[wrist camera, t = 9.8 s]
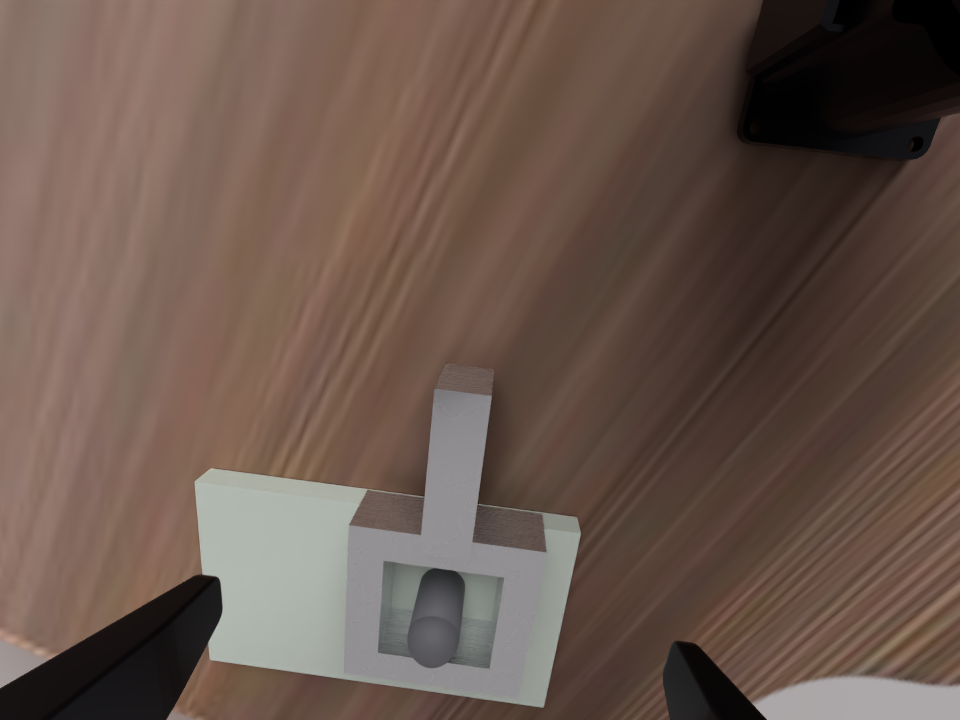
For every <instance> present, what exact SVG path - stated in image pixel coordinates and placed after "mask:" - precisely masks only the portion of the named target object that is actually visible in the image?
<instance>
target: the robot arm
mask: <svg viewBox="0 0 960 720" xmlns="http://www.w3.org/2000/svg"><path fill="white" fill-rule="evenodd" d="M746 71H747V74H748V76H749V78H750V81H749V85H748V89H747V93H746V97H745V101H744V105H743V108H742V112H741V116H740V120H739V124H738V130H737V134H738V137H739V139H740V140H741V141H742V142H744V143H747V144H753V145H762V146H771V147H780V148H789V149H798V150H806V151H815V152H824V153H833V154H842V155H851V156H859V157H868V158H877V159H886V160H895V161H907V160H913V159H917V158H919V157H921V156H923V155H924V154H925V153H926V152H927V150H928V149H929V147H930V145H931V142H932V139H933V137H934V134H935V131H936V129H937V126H938V123H939V121H940V118H941V117H945V116H949V115H953V114H957V113H960V0H763V3H762V7H761V11H760V15H759V19H758V23H757V27H756V31H755V35H754V39H753V43H752V47H751V51H750V55H749V59H748V63H747V67H746ZM752 121H755V122H757V123H758V125H759V130H758V132H757V134H753V133H752V132H751V131H750V125H751V123H752ZM910 139H912V140H913V142H914V145H913V148H912V150H911V151H909V149H908V143H909V141H910ZM222 611H223V604H222V592H221V582H220V579H219V578H218V577H216V576H210V575H203V574H199V575H196V576H193V577H192V578H190V579H188V580H186V581H185V582H183V583H181V584H179V585H178V586H176V587H174V588H173V589H171V590H169V591H167V592H166V593H164V594H162V595H160V596H159V597H157V598H155V599H154V600H152V601H150V602H148V603H147V604H145V605H143V606H141V607H140V608H138V609H136V610H135V611H133V612H131V613H129V614H128V615H126V616H124V617H123V618H121V619H119V620H117V621H116V622H114V623H112V624H110V625H109V626H107V627H105V628H104V629H102V630H100V631H98V632H97V633H95V634H93V635H91V636H90V637H88V638H86V639H85V640H83V641H81V642H79V643H78V644H76V645H74V646H72V647H71V648H69V649H67V650H66V651H64V652H62V653H60V654H59V655H57V656H55V657H53V658H52V659H50V660H48V661H47V662H45V663H43V664H41V665H40V666H38V667H36V668H35V669H33V670H31V671H29V672H28V673H26V674H24V675H22V676H21V677H19V678H17V679H16V680H14V681H12V682H10V683H9V684H7V685H5V686H3V687H2V688H0V720H166V719H167V717H168V716H169V714H170V713H171V711H172V709H173V708H174V706H175V704H176V702H177V701H178V699H179V697H180V695H181V693H182V692H183V690H184V688H185V686H186V684H187V682H188V680H189V678H190V676H191V674H192V673H193V671H194V669H195V667H196V665H197V663H198V661H199V659H200V657H201V655H202V654H203V652H204V650H205V648H206V646H207V644H208V642H209V640H210V638H211V636H212V635H213V633H214V631H215V629H216V627H217V625H218V623H219V621H220V618H221V615H222ZM663 685H664V691H665V696H666V701H667V706H668V711H669V717H670V720H767V719H766V718H765V717H764V716H763V715H762V714H761V713H760V712H759V711H758V710H757V709H756V707H755V706H754V705H753V704H752V703H751V702H750V701H749V700H748V699H747V698H746V697H745V696H744V694H743V693H742V692H741V691H740V690H739V689H738V688H737V687H736V686H735V685H734V684H733V683H732V681H731V680H730V679H729V678H728V677H727V676H726V675H725V674H724V673H723V672H722V671H721V670H720V668H719V667H718V666H717V665H716V664H715V663H714V662H713V661H712V660H711V659H710V658H709V657H708V656H707V654H706V653H705V652H704V651H703V650H702V649H701V648H700V647H699V646H698V645H696V644H695V643H691V642H684V641H674V642H673V643H672V645H671V648H670V651H669V654H668V657H667V661H666V664H665V667H664V671H663Z"/></svg>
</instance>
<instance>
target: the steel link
mask: <svg viewBox="0 0 960 720" xmlns="http://www.w3.org/2000/svg"><path fill="white" fill-rule="evenodd" d="M493 378H494V369H487V368H480V367H472V366H464V365H457V364H449V363H446V364H445V366H444V369H443V371H442V373H441V375H440V378H439V380H438V382H437V384H436V387H435V390H434V400H433V411H432V422H431V433H430V444H429V454H428V465H427V476H426V487H425V498H423V497H416V496H408V495H401V494H394V493H386V492H379V491H372V490H367V491H366V493H365V495H364V497H363V499H362V501H361V503H360V505H359V507H358V508H357V510H356V512H355V514H354V516H353V518H352V520H351V522H350V524H349V531H348V559H347V587H346V616H345V644H344V672H343V673H346V674H353V675H360V676H367V677H373V678H380V679H387V680H394V681H401V682H408V683H415V684H421V685H428V686H435V687H442V688H449V689H456V690H463V691H469V692H476V693H483V694H490V695H497V696H504V697H511V698H517V699H518V698H519V693H520V688H521V683H522V678H523V673H524V667H525V662H526V657H527V652H528V647H529V642H530V637H531V631H532V626H533V621H534V616H535V611H536V606H537V601H538V595H539V590H540V585H541V580H542V575H543V570H544V565H545V559H546V554H547V550H546V541H545V533H544V525H543V516H542V514H540V513H533V512H526V511H518V510H511V509H504V508H496V507H489V506H482V505H477V503H478V496H479V488H480V481H481V473H482V466H483V458H484V451H485V443H486V436H487V428H488V421H489V413H490V406H491V398H492V388H493ZM395 562H396V563H403V564H410V565H417V566H424V567H431V568H439V569H446V570H453V571H460V572H467V573H474V574H481V575H489V576H496V577H498V583H497V589H496V595H495V602H494V608H493V614H492V620H491V621H487V620H480V619H473V618H466V617H462V621H461V630H460V638H459V644H458V648H457V650H456V652H455V654H454V656H453V657H452V658H451V660H450V661H448V662H447V663H446V664H445V665H443V666H441V667H437V668H426V667H424V666H422V665H420V664H418V663H417V662H416V661H415V660H414V659H413V657H412V655H411V653H410V651H409V648H408V642H407V636H408V630H409V626H410V622H411V618H412V614H413V610H410V609H403V608H396V607H392V595H393V581H394V567H395Z"/></svg>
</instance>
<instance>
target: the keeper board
mask: <svg viewBox="0 0 960 720" xmlns="http://www.w3.org/2000/svg"><path fill="white" fill-rule="evenodd" d="M367 490H370V489H363V488H355V487H348V486H340V485H333V484H325V483H318V482H310V481H303V480H295V479H288V478H280V477H273V476H265V475H258V474H250V473H243V472H235V471H228V470H220V469H213V468H211V469H209V470H208V471H207V472H206V473H204V474H203V475H202V476H201V477H200V478H198V479H197V480H196V481H195V493H196V505H197V516H198V528H199V539H200V551H201V563H202V574H203V575H210V576H216V577H218V578H219V579H220V582H221V592H222V604H223V611H222V615H221V618H220V621H219V623H218V625H217V627H216V629H215V631H214V633H213V635H212V636H211V638H210V640H209V642H208V644H209V655H210V660H215V661H222V662H228V663H235V664H242V665H249V666H256V667H263V668H270V669H277V670H284V671H291V672H298V673H305V674H312V675H319V676H326V677H333V678H340V679H347V680H354V681H361V682H368V683H375V684H382V685H389V686H396V687H403V688H410V689H417V690H424V691H431V692H438V693H444V694H451V695H458V696H465V697H472V698H479V699H486V700H493V701H500V702H507V703H514V704H521V705H528V706H535V707H542V708H544V704H545V699H546V694H547V690H548V685H549V680H550V676H551V671H552V666H553V662H554V657H555V652H556V648H557V643H558V638H559V634H560V629H561V624H562V620H563V615H564V610H565V606H566V601H567V596H568V592H569V587H570V582H571V578H572V573H573V568H574V564H575V559H576V554H577V550H578V545H579V540H580V536H581V532H580V527H579V523H578V519H577V517H573V516H565V515H558V514H550V513H543V512H535V511H528V510H520V509H513V508H505V507H498V506H490V505H483V504H477V505H482V506H489V507H496V508H504V509H511V510H518V511H526V512H533V513H540V514H542V516H543V525H544V533H545V541H546V550H547V554H546V559H545V565H544V570H543V575H542V580H541V585H540V590H539V595H538V601H537V606H536V611H535V616H534V621H533V626H532V631H531V637H530V642H529V647H528V652H527V657H526V662H525V667H524V673H523V678H522V683H521V688H520V693H519V698H518V699H517V698H511V697H504V696H497V695H490V694H483V693H476V692H469V691H463V690H456V689H449V688H442V687H435V686H428V685H421V684H415V683H408V682H401V681H394V680H387V679H380V678H373V677H367V676H360V675H353V674H346V673H343V672H344V644H345V616H346V587H347V559H348V531H349V524H350V522H351V520H352V518H353V516H354V514H355V512H356V510H357V508H358V507H359V505H360V503H361V501H362V499H363V497H364V495H365V493H366V491H367ZM372 491H378V490H372ZM379 492H385V491H379ZM386 493H393V492H386ZM394 494H400V493H394ZM401 495H408V494H401ZM408 496H415V495H408ZM416 497H423V496H416ZM423 498H425V497H423ZM497 583H498V577H496V576H489V575H481V574H474V573H467V572H460V571H453V570H446V569H439V568H431V567H424V566H417V565H410V564H403V563H396V562H395V567H394V581H393V595H392V607H396V608H403V609H410V610H413V614H412V618H411V622H410V626H409V630H408V636H407V642H408V648H409V651H410V653H411V655H412V657H413V659H414V660H415V661H416V662H417V663H418V664H420V665H422V666H424V667H426V668H437V667H441V666H443V665H445V664H446V663H447V662H448V661H450V660H451V658H452V657H453V656H454V654H455V652H456V650H457V648H458V644H459V638H460V630H461V621H462V617H466V618H473V619H480V620H487V621H491V620H492V614H493V608H494V602H495V595H496V589H497Z"/></svg>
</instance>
